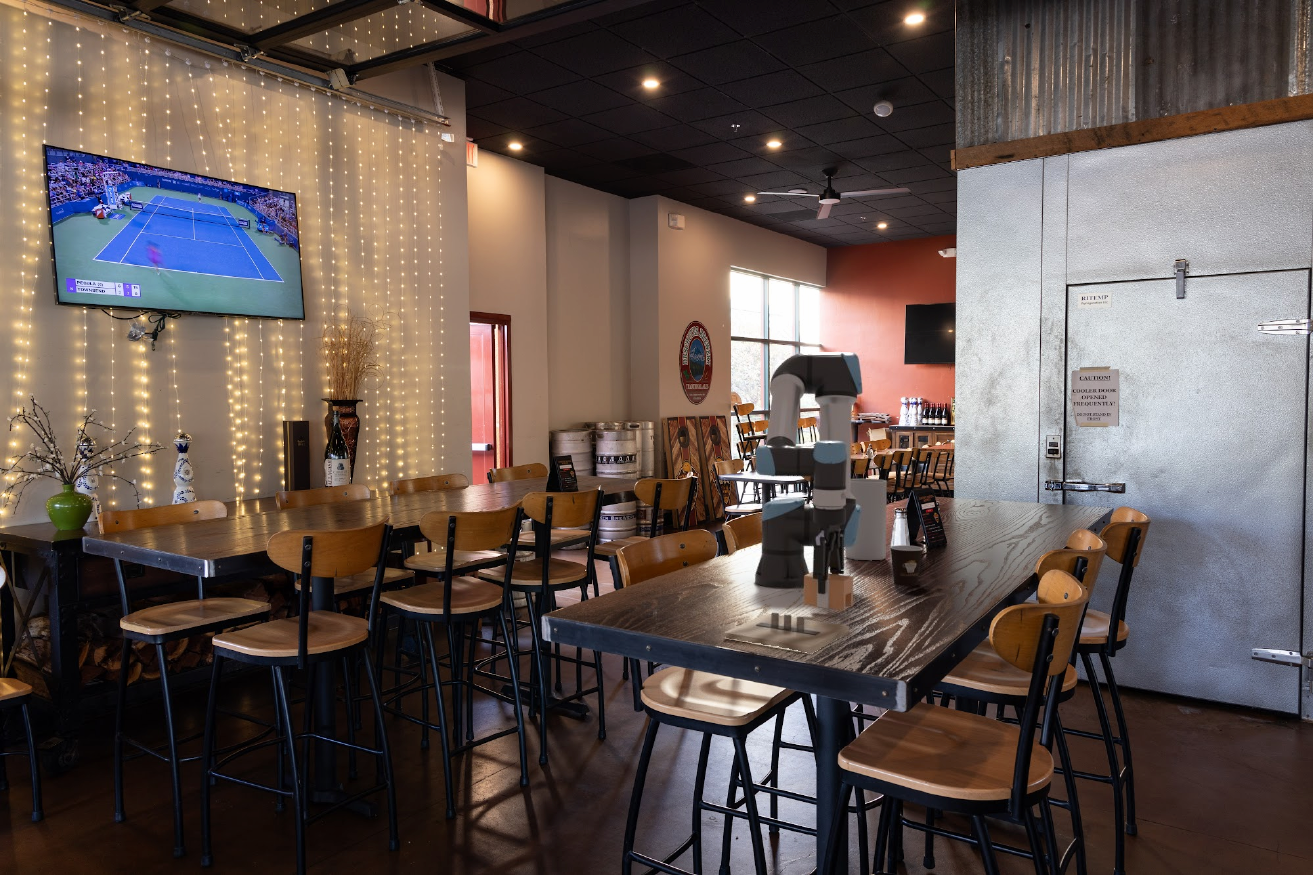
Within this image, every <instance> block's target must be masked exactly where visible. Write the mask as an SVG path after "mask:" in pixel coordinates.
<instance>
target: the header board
mask: <svg viewBox="0 0 1313 875" xmlns="http://www.w3.org/2000/svg"><path fill="white" fill-rule="evenodd" d="M779 614H780V613H779V612H771V613H768V612H767V613H765V614H762V615H760V616H758V617H755V618H754V619H751V620H749V621H746V622H744V623H742V624H740V625H737V626H735V627H733V628H731V629H728V630H726V631H724V632H723V638H724V637H726V638H729V639H737V640H741V641H748V642H752V643H761V644H763V645H771V646H779V647H782V648H789V649H792V650H798V651H801V652H807V653H811V654H812V653H813V652H815V651H817V650H819V649H820V648H822V647H824V646H826V645H828V644H829V643H831V644H832V642H833V641H835V640H836V639H838V640H839V638H840V637H841V638H843V637H845V636H847V635H848V634H850V625H843V624H837V623H831V622H825V621H818V620H812V619H805V617H804V616H801V615H800V616H796V617H793V616H792V615H791V614H784V615H781V614H780V615H779ZM847 633H848V634H847ZM846 634H847V635H846ZM844 635H845V636H844ZM841 638H840V639H841ZM836 641H837V640H836ZM836 641H835V642H836ZM833 643H834V642H833ZM829 645H830V644H829ZM829 645H828V646H829ZM826 647H827V646H826ZM824 648H825V647H824ZM822 649H823V648H822ZM819 651H820V650H819ZM817 652H818V651H817ZM812 655H813V654H812Z"/></svg>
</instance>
